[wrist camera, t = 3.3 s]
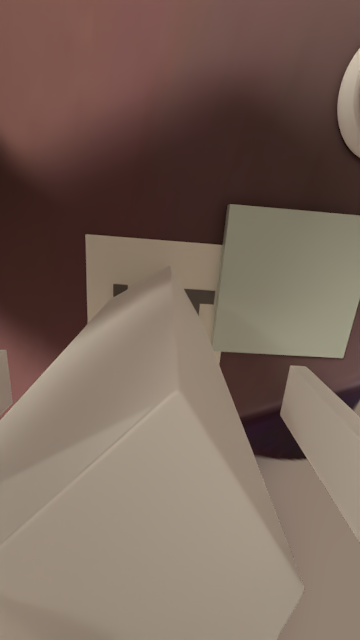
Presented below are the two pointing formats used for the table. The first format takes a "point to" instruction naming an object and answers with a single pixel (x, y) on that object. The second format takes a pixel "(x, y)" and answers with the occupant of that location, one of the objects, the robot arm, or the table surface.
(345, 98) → the jar
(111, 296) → the tile
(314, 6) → the table surface
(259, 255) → the coaster
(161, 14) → the table surface
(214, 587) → the milk
